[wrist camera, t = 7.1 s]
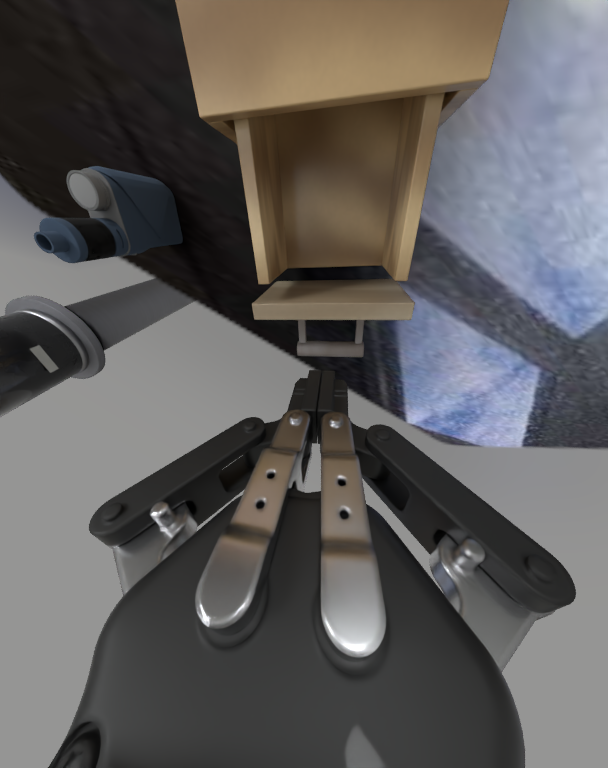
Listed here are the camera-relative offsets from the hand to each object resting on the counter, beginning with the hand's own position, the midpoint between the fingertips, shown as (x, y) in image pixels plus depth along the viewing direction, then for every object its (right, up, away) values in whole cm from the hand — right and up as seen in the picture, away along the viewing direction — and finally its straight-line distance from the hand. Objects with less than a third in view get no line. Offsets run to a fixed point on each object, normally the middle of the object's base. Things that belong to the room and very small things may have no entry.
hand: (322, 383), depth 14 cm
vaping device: (-14, +16, +8) cm, 23 cm away
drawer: (+2, +13, +6) cm, 15 cm away
